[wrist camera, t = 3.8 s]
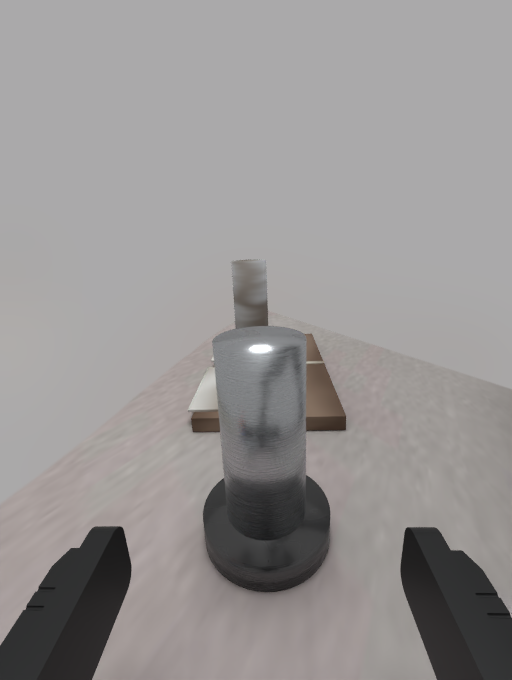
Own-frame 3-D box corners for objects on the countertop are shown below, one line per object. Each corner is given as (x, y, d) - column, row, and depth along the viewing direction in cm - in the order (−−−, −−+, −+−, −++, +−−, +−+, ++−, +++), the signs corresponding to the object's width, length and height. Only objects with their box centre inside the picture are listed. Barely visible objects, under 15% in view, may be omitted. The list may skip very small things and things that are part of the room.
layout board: (311, 341, 46) (312, 255, 43) (345, 429, 25) (352, 274, 22) (224, 344, 47) (217, 259, 43) (186, 431, 26) (168, 281, 23)
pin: (319, 484, 20) (323, 318, 17) (341, 593, 14) (352, 364, 11) (216, 484, 20) (200, 321, 17) (193, 590, 14) (162, 369, 11)
